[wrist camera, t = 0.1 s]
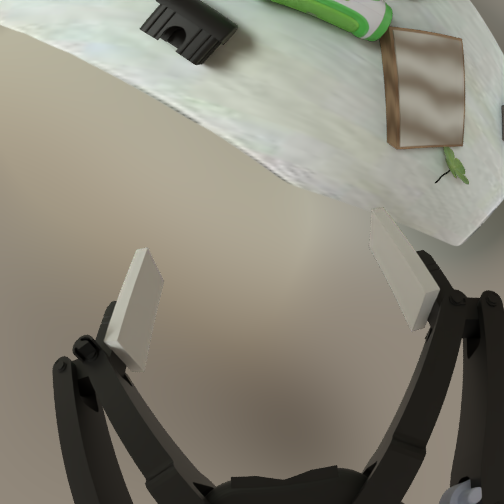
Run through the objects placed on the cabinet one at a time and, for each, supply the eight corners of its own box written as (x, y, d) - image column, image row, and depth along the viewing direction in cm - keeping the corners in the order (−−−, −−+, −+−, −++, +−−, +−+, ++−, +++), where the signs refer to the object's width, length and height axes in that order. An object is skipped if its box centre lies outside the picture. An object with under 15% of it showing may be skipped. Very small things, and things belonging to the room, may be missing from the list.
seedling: (434, 161, 47) (455, 145, 40) (452, 198, 45) (475, 183, 39) (414, 162, 44) (436, 143, 38) (433, 201, 43) (458, 185, 37)
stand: (377, 27, 29) (389, 26, 26) (449, 37, 27) (463, 39, 24) (386, 142, 40) (397, 150, 37) (451, 139, 39) (463, 146, 36)
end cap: (239, 29, 30) (239, 23, 24) (204, 66, 33) (198, 67, 28) (182, -8, 25) (172, -19, 20) (149, 30, 29) (133, 26, 23)
